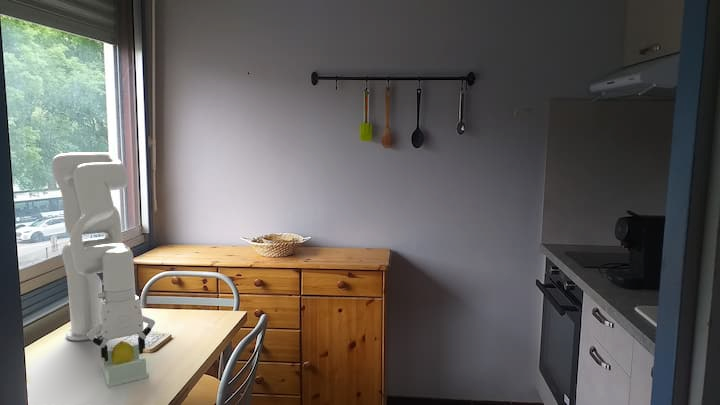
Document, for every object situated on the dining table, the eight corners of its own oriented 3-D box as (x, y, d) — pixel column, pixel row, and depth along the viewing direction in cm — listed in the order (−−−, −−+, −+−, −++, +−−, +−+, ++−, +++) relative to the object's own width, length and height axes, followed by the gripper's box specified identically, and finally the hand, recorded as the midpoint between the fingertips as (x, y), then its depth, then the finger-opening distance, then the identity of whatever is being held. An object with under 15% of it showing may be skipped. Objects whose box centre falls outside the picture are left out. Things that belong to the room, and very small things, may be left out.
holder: (102, 367, 135) (100, 351, 134) (140, 359, 140) (139, 342, 140) (107, 387, 124) (106, 369, 123) (148, 377, 130) (147, 359, 129)
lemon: (125, 374, 129) (123, 346, 128) (108, 372, 130) (105, 344, 129) (139, 365, 134) (137, 338, 133) (121, 363, 135) (119, 336, 134)
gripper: (84, 304, 121) (89, 369, 124) (157, 292, 131) (160, 352, 133) (82, 296, 128) (86, 358, 130) (151, 285, 137) (154, 343, 139)
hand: (123, 355), depth 132 cm, fingers open, 8 cm apart
